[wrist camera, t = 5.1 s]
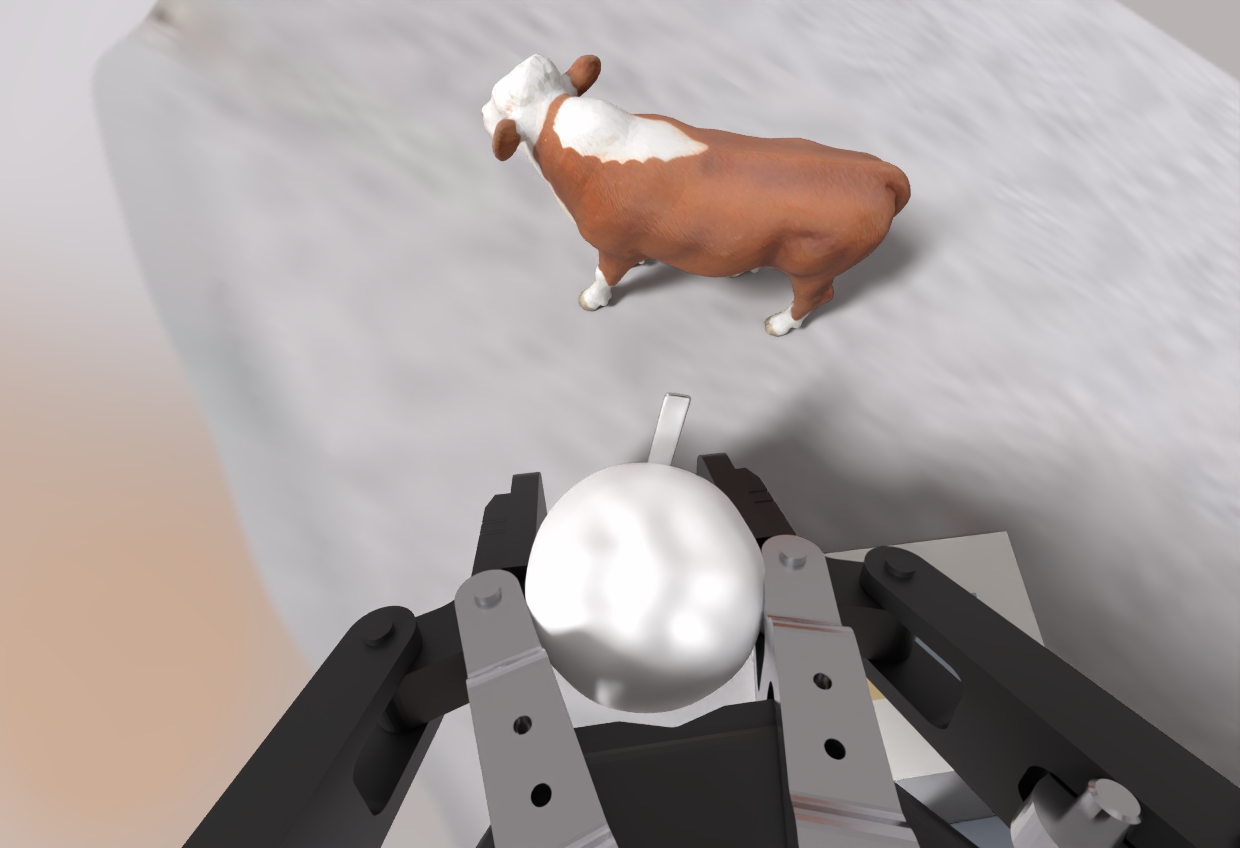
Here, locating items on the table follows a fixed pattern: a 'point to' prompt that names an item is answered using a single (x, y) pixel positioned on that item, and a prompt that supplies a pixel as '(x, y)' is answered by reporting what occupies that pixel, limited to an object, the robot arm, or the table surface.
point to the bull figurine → (693, 189)
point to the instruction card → (989, 578)
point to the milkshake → (646, 581)
